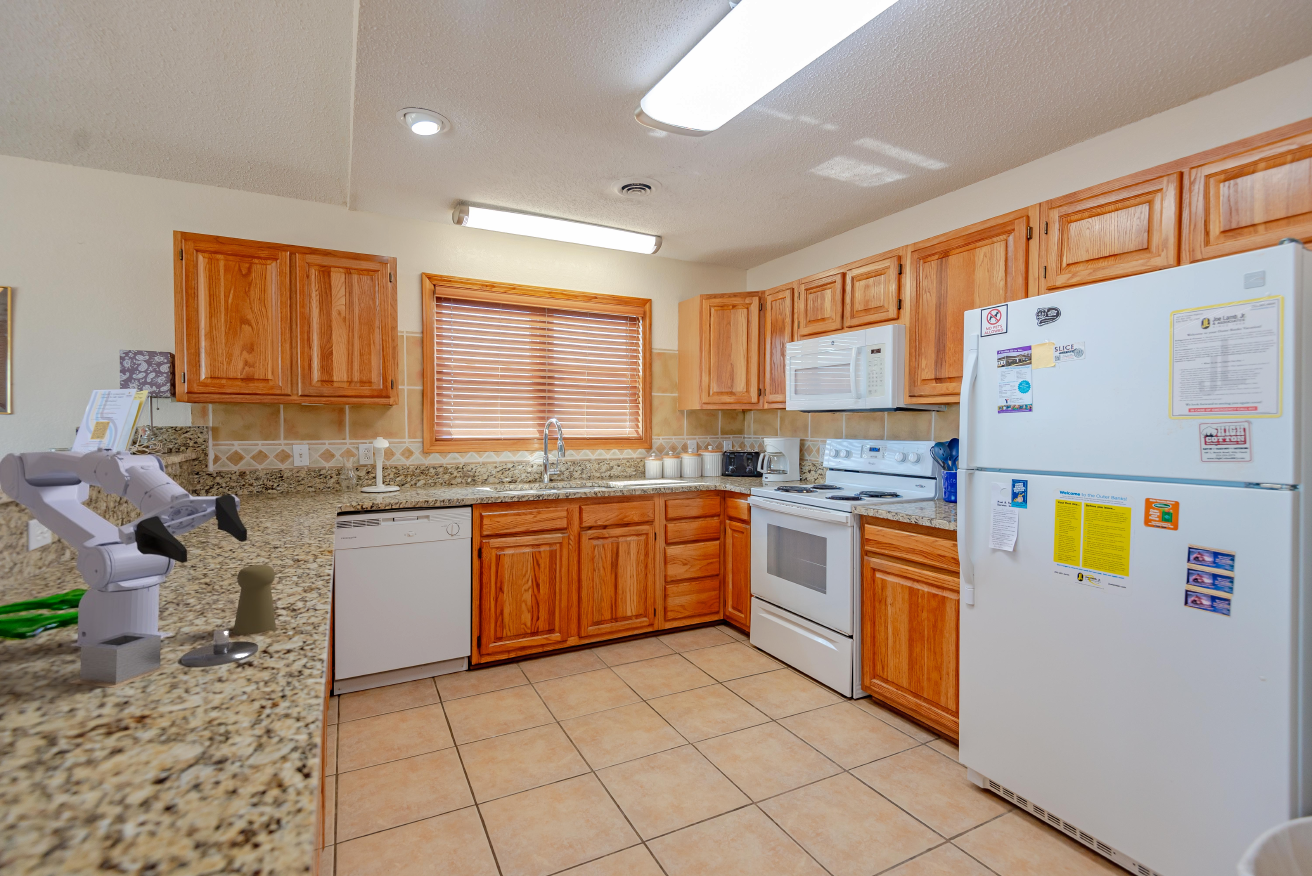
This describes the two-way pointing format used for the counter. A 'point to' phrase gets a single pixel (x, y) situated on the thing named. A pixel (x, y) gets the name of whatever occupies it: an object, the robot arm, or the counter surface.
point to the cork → (255, 601)
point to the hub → (219, 651)
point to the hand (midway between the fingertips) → (215, 545)
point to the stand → (119, 683)
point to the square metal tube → (120, 658)
